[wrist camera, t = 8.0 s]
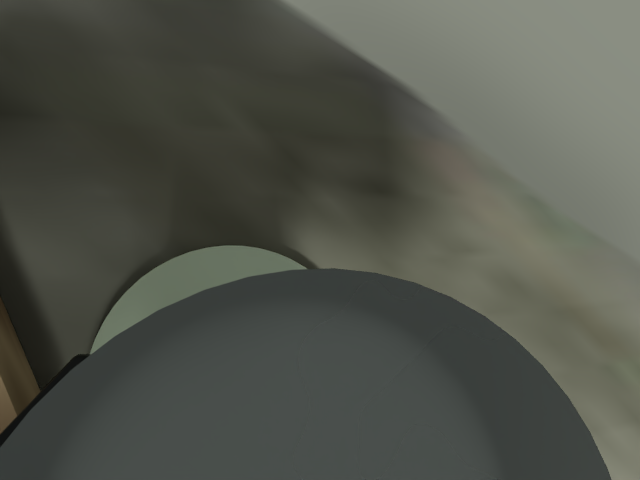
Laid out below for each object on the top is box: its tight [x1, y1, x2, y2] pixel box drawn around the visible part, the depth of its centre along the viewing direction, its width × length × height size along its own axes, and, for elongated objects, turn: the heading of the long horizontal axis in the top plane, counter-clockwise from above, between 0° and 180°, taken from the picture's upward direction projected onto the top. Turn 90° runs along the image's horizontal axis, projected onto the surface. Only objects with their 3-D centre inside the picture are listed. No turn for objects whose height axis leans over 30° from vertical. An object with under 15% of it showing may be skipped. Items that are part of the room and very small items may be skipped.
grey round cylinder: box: [0, 269, 611, 480], centre depth 9 cm, size 6×6×12 cm
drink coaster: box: [90, 245, 307, 354], centre depth 18 cm, size 10×10×1 cm
